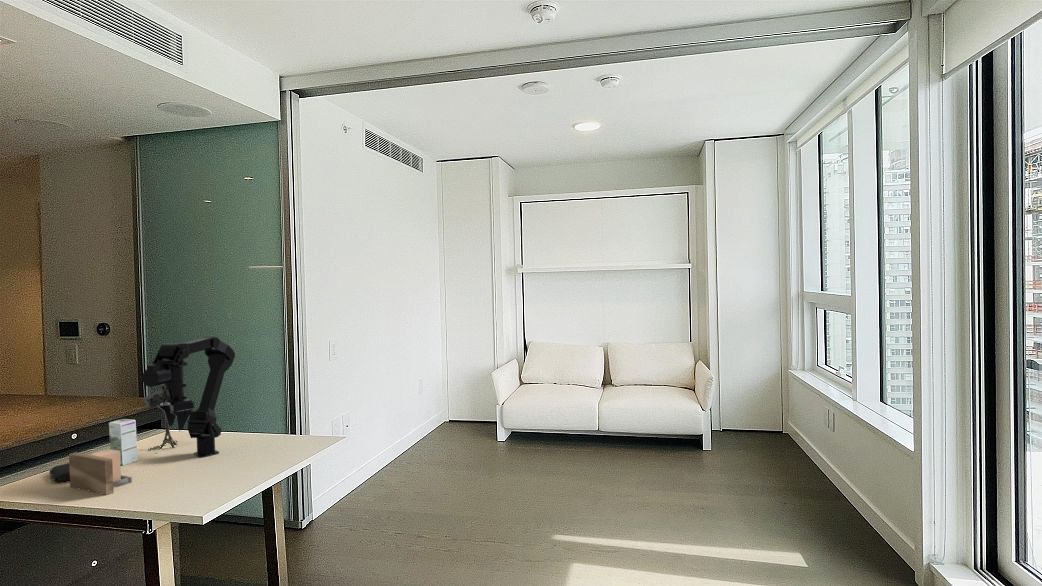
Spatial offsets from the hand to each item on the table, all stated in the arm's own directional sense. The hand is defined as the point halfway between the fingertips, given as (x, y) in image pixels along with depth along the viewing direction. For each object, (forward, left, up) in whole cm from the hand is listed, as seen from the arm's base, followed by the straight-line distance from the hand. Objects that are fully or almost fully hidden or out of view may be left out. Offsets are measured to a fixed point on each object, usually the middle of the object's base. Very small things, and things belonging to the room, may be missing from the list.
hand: (175, 428), depth 195 cm
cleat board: (+2, -20, -13) cm, 24 cm away
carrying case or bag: (-18, -25, -14) cm, 34 cm away
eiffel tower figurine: (-30, +6, -14) cm, 34 cm away
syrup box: (-20, -10, -13) cm, 26 cm away
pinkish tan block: (+2, -20, -13) cm, 24 cm away
